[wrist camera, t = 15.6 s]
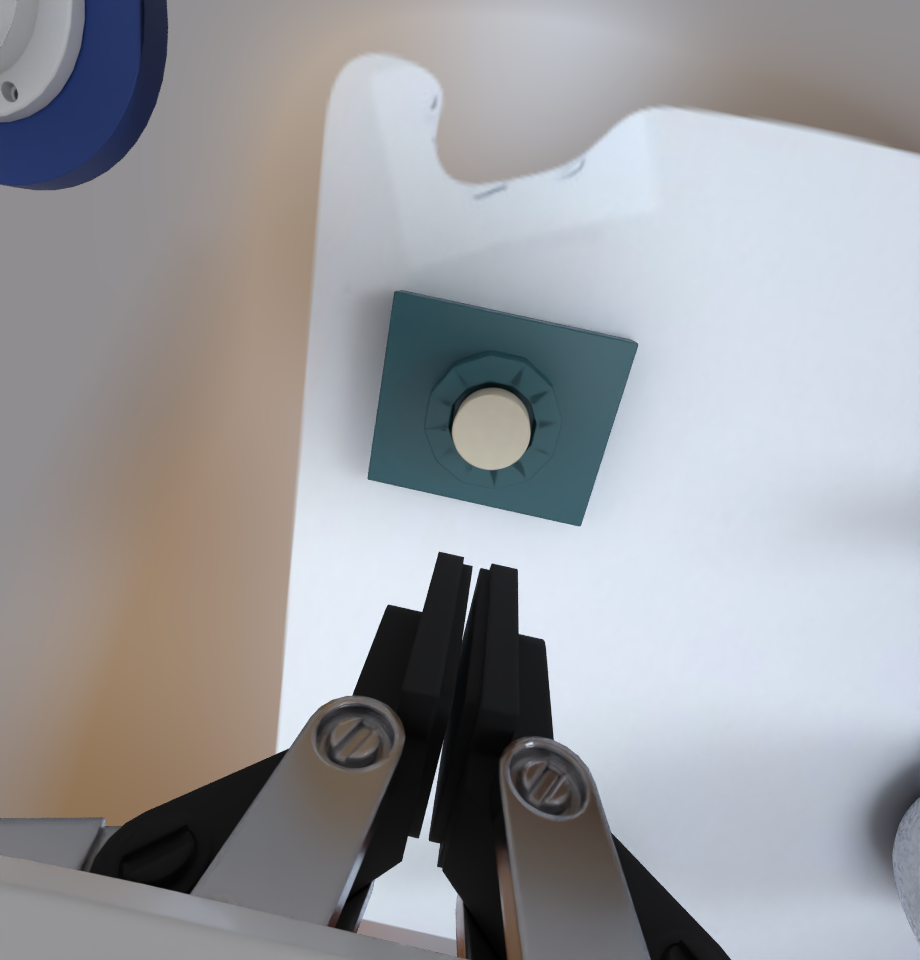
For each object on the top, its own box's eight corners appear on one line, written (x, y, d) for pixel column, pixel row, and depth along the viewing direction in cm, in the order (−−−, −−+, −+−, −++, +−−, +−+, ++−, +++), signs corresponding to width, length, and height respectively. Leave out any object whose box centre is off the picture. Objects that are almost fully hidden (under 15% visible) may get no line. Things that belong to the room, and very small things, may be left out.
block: (374, 469, 31) (358, 492, 28) (401, 289, 27) (385, 291, 24) (577, 514, 31) (584, 542, 27) (631, 339, 27) (648, 348, 24)
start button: (449, 450, 27) (445, 461, 25) (463, 379, 25) (460, 387, 24) (519, 465, 27) (520, 477, 25) (537, 396, 25) (539, 404, 24)
